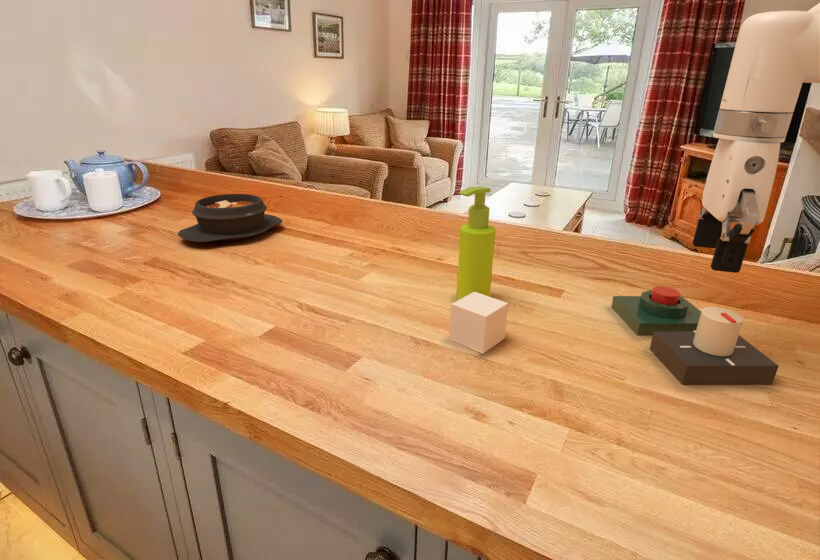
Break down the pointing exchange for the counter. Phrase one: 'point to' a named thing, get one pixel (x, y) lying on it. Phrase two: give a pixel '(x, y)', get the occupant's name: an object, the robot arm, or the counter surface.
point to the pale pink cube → (478, 321)
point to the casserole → (229, 218)
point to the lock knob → (717, 331)
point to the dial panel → (712, 362)
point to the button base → (655, 314)
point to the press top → (665, 295)
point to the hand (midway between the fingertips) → (713, 258)
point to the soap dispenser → (476, 247)
